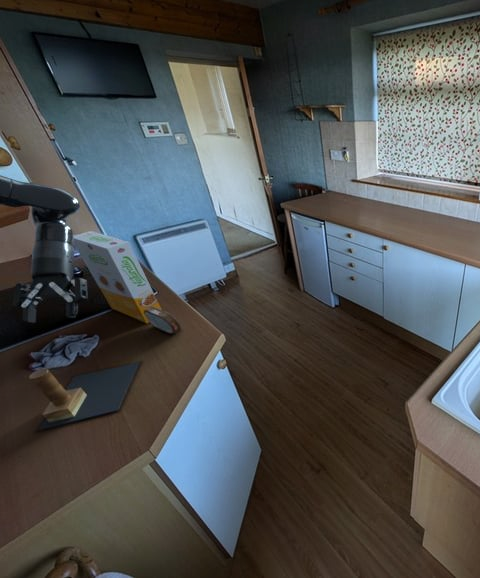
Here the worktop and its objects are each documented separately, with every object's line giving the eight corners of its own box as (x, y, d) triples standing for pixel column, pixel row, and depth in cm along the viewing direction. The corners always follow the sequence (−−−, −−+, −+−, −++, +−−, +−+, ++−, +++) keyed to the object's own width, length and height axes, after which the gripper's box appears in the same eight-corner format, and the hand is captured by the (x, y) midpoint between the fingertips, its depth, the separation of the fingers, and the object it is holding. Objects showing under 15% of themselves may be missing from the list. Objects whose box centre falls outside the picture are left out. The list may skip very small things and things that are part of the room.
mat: (39, 430, 72) (38, 429, 72) (74, 377, 86) (74, 376, 86) (118, 411, 77) (117, 410, 77) (139, 363, 91) (138, 362, 91)
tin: (184, 332, 104) (175, 313, 99) (175, 338, 101) (166, 319, 97) (157, 321, 109) (148, 302, 104) (148, 326, 106) (138, 307, 102)
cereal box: (163, 314, 113) (129, 241, 97) (146, 323, 108) (107, 248, 92) (128, 300, 120) (91, 230, 105) (111, 308, 116) (69, 236, 100)
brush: (49, 422, 73) (15, 387, 66) (63, 400, 79) (33, 365, 72) (74, 416, 75) (43, 381, 68) (86, 395, 80) (59, 360, 74)
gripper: (5, 259, 73) (0, 322, 70) (74, 253, 77) (72, 313, 73) (33, 268, 80) (30, 326, 77) (95, 262, 84) (94, 317, 80)
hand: (50, 320), depth 75 cm, fingers open, 8 cm apart
